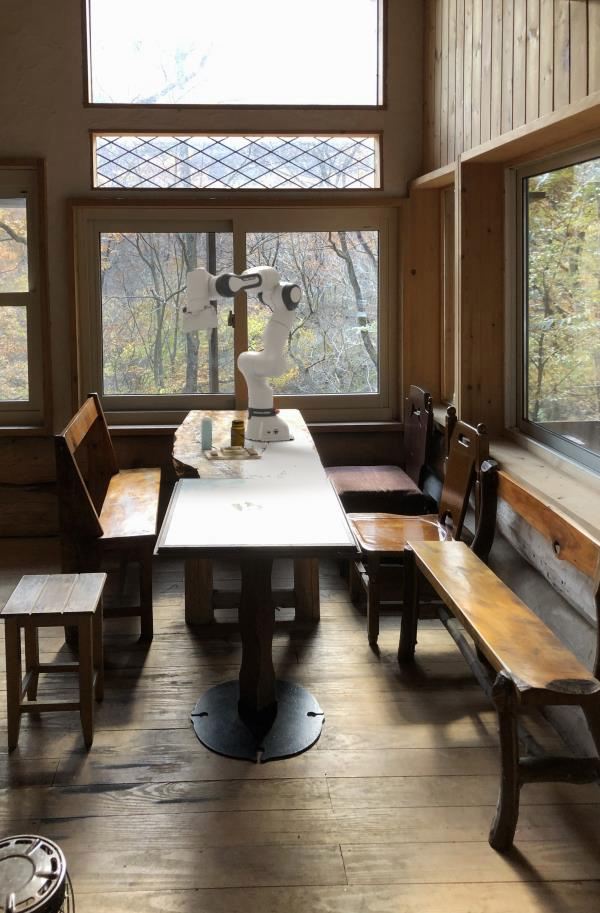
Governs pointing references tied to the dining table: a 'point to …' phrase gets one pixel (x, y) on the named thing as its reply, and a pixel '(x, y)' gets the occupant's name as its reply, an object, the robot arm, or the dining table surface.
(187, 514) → the dining table surface
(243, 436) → the condiment
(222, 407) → the dining table surface
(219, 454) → the jig
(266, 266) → the robot arm
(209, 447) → the roll-on deodorant
